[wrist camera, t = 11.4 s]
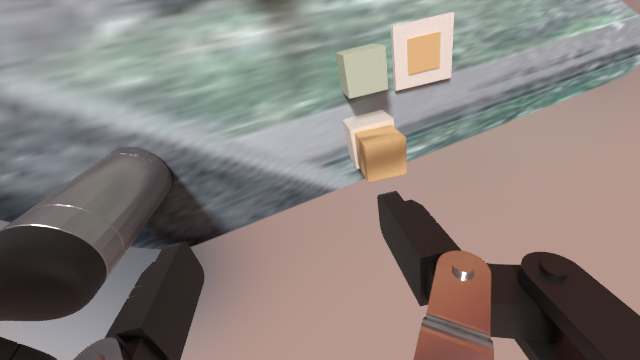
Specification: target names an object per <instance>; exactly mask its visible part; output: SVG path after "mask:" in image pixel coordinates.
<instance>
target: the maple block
mask: <svg viewBox="0 0 640 360" xmlns="http://www.w3.org/2000/svg"><path fill="white" fill-rule="evenodd" d="M355 141H356V150H357V158H358V166H359V167H360V169H361V171H362V173H363V174H364V176H365V178H366V180H367V181H368V183H369V182H373V181H378V180H382V179H387V178H391V177H396V176H401V175H405V174H406V137H405V136H404V135H402V134H401V133H400V132H399V131H398V130H396V129H395V128H394V127H393V126H392V125H388V126H383V127H378V128H373V129H369V130H364V131H359V132H355Z"/></svg>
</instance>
